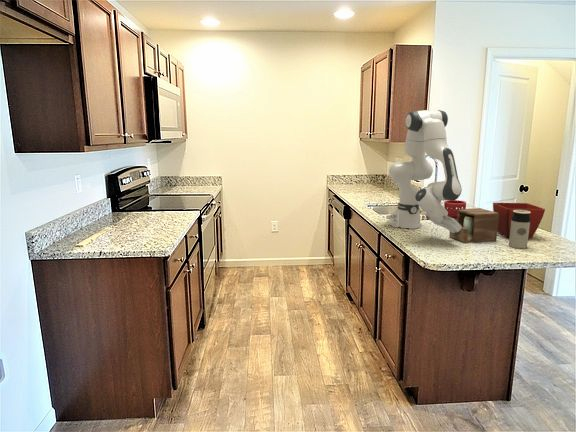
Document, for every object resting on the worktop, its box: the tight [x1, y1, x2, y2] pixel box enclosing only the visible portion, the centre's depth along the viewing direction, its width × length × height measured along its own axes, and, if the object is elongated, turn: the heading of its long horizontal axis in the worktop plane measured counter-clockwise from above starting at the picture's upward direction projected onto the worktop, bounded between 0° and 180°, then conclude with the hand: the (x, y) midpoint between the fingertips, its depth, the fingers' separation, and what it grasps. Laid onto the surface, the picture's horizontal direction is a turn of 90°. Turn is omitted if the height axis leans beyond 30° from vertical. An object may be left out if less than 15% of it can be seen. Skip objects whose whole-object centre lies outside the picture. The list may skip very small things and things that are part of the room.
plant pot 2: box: [492, 202, 546, 239], centre depth 218 cm, size 19×19×17 cm
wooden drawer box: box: [457, 207, 499, 244], centre depth 212 cm, size 14×14×15 cm
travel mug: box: [508, 210, 531, 249], centre depth 197 cm, size 8×8×18 cm
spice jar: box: [463, 216, 474, 235], centre depth 211 cm, size 5×5×11 cm
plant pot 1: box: [443, 199, 467, 221], centre depth 259 cm, size 13×13×12 cm
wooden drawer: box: [448, 227, 473, 244], centre depth 211 cm, size 13×16×7 cm
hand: (453, 231), depth 209 cm, fingers closed, pressing on wooden drawer
